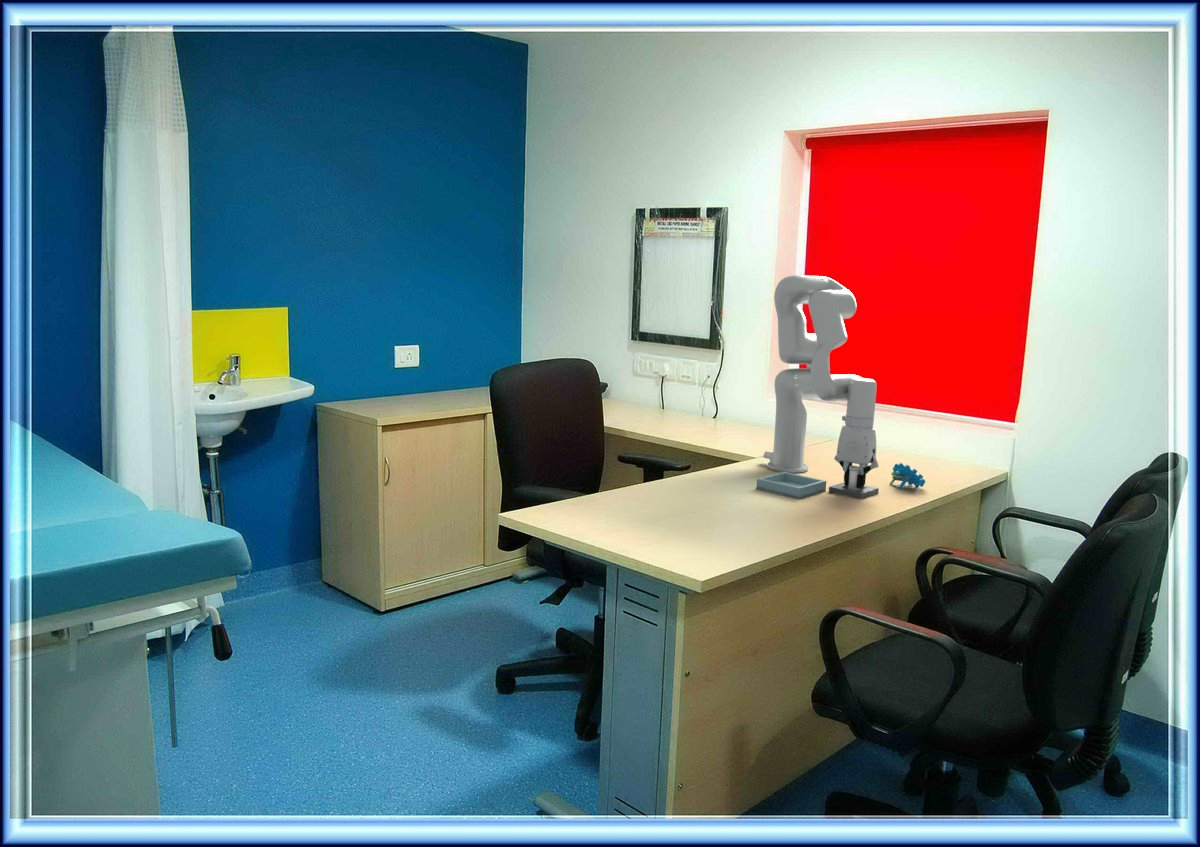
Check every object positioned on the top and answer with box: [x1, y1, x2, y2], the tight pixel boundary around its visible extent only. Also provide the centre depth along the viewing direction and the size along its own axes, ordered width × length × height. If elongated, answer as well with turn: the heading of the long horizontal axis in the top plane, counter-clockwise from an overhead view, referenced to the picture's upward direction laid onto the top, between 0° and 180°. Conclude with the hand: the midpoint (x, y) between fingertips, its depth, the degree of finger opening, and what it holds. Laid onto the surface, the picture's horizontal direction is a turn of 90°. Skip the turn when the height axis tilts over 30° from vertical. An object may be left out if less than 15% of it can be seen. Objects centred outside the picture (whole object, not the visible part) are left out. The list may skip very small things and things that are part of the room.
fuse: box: [848, 464, 860, 491], centre depth 254 cm, size 4×4×8 cm
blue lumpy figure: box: [889, 462, 926, 490], centre depth 262 cm, size 11×6×10 cm
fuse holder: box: [828, 481, 880, 500], centre depth 254 cm, size 10×10×2 cm
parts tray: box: [755, 472, 827, 500], centre depth 255 cm, size 14×14×3 cm
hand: (854, 485), depth 254 cm, fingers closed on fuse, 3 cm apart
